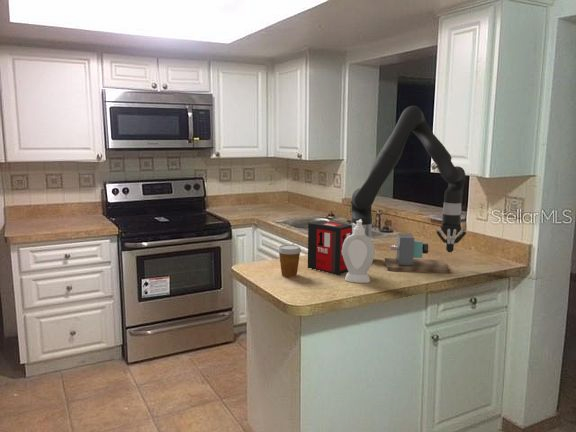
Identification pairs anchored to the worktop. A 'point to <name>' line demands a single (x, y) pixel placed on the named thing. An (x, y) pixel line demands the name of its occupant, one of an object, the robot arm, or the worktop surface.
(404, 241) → the housing
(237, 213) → the worktop surface
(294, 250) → the disposable coffee cup
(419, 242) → the block
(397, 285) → the worktop surface
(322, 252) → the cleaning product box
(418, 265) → the base board
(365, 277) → the soap bottle
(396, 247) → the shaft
